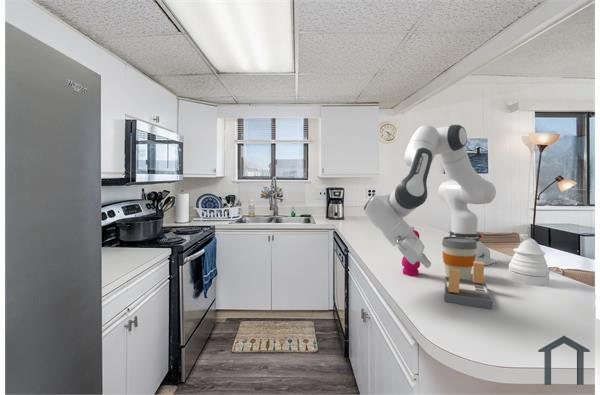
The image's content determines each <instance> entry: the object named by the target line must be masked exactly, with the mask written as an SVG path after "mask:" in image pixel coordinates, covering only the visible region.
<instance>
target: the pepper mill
mask: <svg viewBox="0 0 600 395" xmlns="http://www.w3.org/2000/svg"><path fill="white" fill-rule="evenodd" d="M409 226H410V227H411V228H412V229H413V232H414V233H415V234H416V236H417V237H418V238H419V239H420V233H419V232H418V230H415V226H413V225H409ZM401 265H402V267H403V268H402V274H403V275H405V276H411V277H416V276H419V275H420V274H419V273H420V272H419V271H420V270H419V268H420V267H421V263H420V262H419V261H417V262H416V263H415V264H411V263H410V262H409V261H408V260H407V259H406V258H405V256H404V255H403V257H402V259H401Z"/></svg>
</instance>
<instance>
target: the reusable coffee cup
mask: <svg viewBox="0 0 600 395" xmlns="http://www.w3.org/2000/svg"><path fill="white" fill-rule="evenodd" d="M441 245H442V261H443V264H444V269H445V270H444V271H445V276H447V277H449V268H453V269H460V278H462V279H469V280H470V279H471V275H472V272H473V261H475V256H476V255H475V250H476V248H477V245H476V240H474V239H470V238H464V237H450V236H444V237H443V238H442V243H441Z"/></svg>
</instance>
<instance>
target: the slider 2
mask: <svg viewBox="0 0 600 395" xmlns="http://www.w3.org/2000/svg"><path fill="white" fill-rule="evenodd" d="M484 270H485V265H484V263H483V262H478V261H473V266H472V280H473V283H481V284H483V281H484V272H485V271H484Z"/></svg>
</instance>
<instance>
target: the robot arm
mask: <svg viewBox="0 0 600 395" xmlns="http://www.w3.org/2000/svg"><path fill="white" fill-rule="evenodd" d="M467 141H468V134H467V131H466V129H465V128H464V127H463V126H462V125H460V124H451V125H446V126H440V127H434V126H432V125H428V124H426V125H422V126H419V127H418V128H417V129H416V130H415V132H414V133H413V135H412V136H411V137H410V140H409V142H408V144H407V146H406V149H405V152H404V157H403V159H404V163H405V164H406V165H407V166H408V167H409V170H408V173H407V176H406V177H404V178H403V179H402V180H401V181H400V182H399V183H398V184H397V186H396V187H395V188H394V190H392V192H389V193H385V194H378V193H375V194H373V195H372V196H371V197H370V198H369V200H368V201H367V202H366V203H365V205H364V207H363V211H364V214H365V215H366V217H367V218H368V220H369V221H370V223H372V224H373V225H374V226H375V227H376V228H377V229H379V230H380V232H381V233H382V235H383V236H384V238H385V239H386V240H387V241H388V242H389V243H390V244H391V245H392V247H395V246H397V249H398V250H399V251H400V253H401V254H402V255H403V257H404V256H405V258H406V259H407V260H408V261H409V262H410V263H411V264H415V263H416V262H417V261H419V262H420V264H422V265H423V266H424V267H425V268H426V269H429V268H430V267H432V262H431V261H430V260H429V259H428V257H427V255H426V254H425V253H424V250H425V245H424V243H423V242H422V240H421V239H420V237H419V238H418V237H417V236H416V234H415V233H414V232H413V229H412V228H411V227H410V226H411V225H410V224H409V223H408V222H407V221H406V220H405V219H404V218H405V217H407V216H408V215H410V214H411V213H412V212H413V211H415V210H416V209H417V208H419V207H420V206H421V205H423V204H424V203H425V202H426V201H427V198H428V186H427V179H428V177H429V173H430V169H431V166H432V163H433V161H434V159H435V156H436V155H439V159H440V163H441V165H442V168H443V170H444V174H445V175H446V176H447V177H448V178H449V179H450V180H447V181H443V182H441V183H440V185H439V187H438V191H437V192H438V193H437V194H438V196H439V198H440V199H441V200H442V201H443V202H444V203H445V205H446V206H447V208H448V210H449V214H450V223H451V224H450V231H449V237H464V238H470V239H474V240H476V245H477V248H476V250H475V255H476V256H475V261H478V262H483V263H484V266H488V265H491V264H496V263H497V261H496V259H494V258H491V251H490V249H489V248H488V247H487V246H486V245H485V244H484V243H482V242H481V241H480V240H481V239H483V238H484V236H485V235H484V233H478V220H479V218H478V216H477V215H476V214H475V213H474V212H472V211H471V210H470V208H469V207H468V204H469V205H485V204H490V203H492V202H493V201H494V199H495V198H496V195H497V190H496V186H495V185H494V184H493V183H492V182H490V181H489V180H487V179H485V178H483V177H482V176H481V175H480V174H479V173H478V172H477V171H476V169H474V167H473V166H472V162H471V160H470V157H469V155H468V151H467V148H466V144H467Z"/></svg>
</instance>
